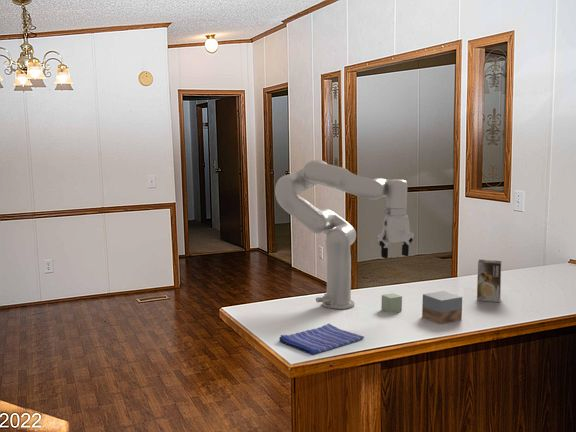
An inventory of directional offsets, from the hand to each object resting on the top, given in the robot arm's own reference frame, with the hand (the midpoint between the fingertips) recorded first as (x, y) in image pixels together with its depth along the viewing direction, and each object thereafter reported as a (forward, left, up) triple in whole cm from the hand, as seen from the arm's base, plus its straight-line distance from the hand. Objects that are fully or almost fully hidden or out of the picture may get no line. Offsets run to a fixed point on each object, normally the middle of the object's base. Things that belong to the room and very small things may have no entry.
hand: (394, 256), depth 236 cm
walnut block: (+9, -17, -21) cm, 29 cm away
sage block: (-1, 0, -21) cm, 21 cm away
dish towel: (-43, -17, -22) cm, 51 cm away
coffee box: (+44, -6, -21) cm, 49 cm away
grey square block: (+9, -17, -17) cm, 26 cm away
